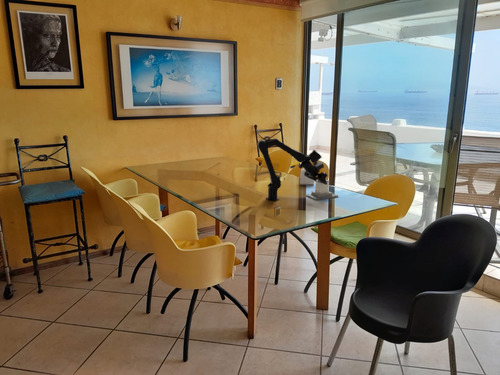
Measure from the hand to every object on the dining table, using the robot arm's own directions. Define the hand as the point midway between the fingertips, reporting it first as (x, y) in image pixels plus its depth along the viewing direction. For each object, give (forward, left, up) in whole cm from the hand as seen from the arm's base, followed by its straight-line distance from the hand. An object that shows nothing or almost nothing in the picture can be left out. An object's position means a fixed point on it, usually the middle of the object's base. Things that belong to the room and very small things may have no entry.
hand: (322, 182), depth 245 cm
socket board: (0, 0, -9) cm, 9 cm away
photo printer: (-33, +11, -10) cm, 36 cm away
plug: (0, 0, -8) cm, 8 cm away
